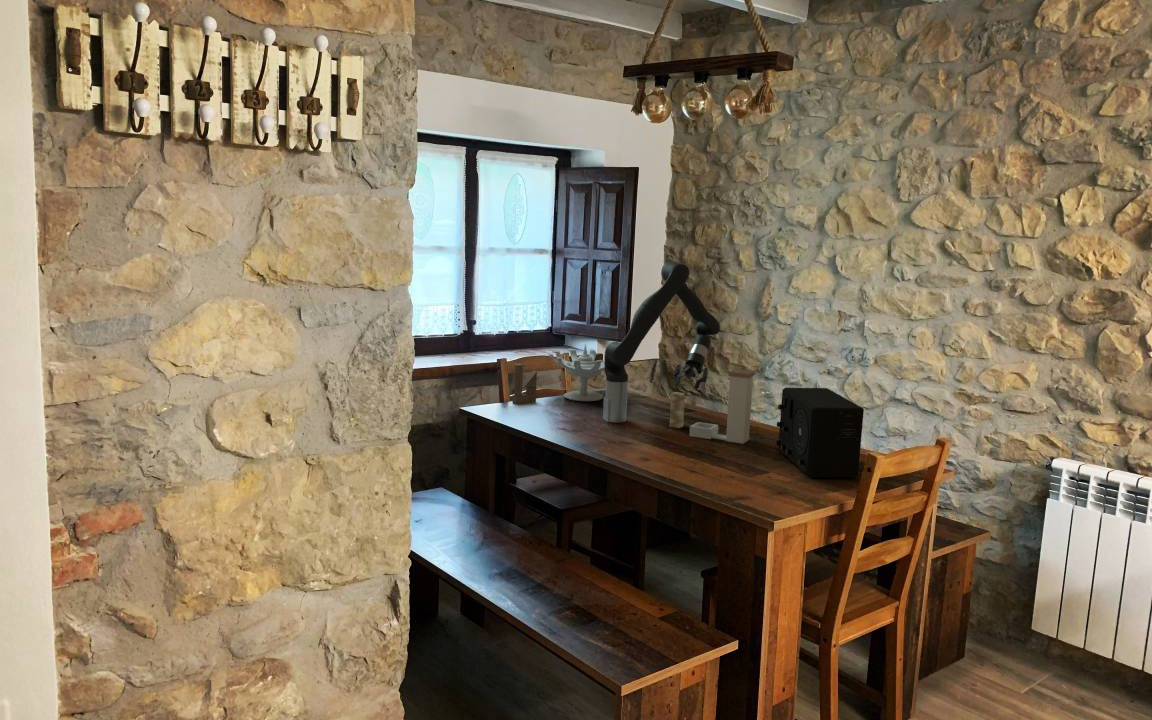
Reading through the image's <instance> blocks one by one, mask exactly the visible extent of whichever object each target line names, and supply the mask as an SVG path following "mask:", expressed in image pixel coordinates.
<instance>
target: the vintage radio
mask: <svg viewBox="0 0 1152 720" xmlns="http://www.w3.org/2000/svg"><path fill="white" fill-rule="evenodd" d="M777 409H778V410H780V417H779V418H780V419H779V421H776V427H777V428H779V433H778V439H775V446H777V447H778V448H777V450H779V451H780V452H781V453H782V455H784V456H786V457H787V459H789V460H790V461H792V463H794V465H796V466H797V467H798V468H799V469H800V470H802V471H803V472H804V473H805V474H806V475H808V477H809V478H810V477H812V478H811V479H816V478H843V479H851V478H858V477H859V468H860V457H861V456H860V455H861V447H862V434H863V423H864V413H865V409H864V407H862V406H860V405H858V404H856V403H854V402H853V401H852V400H849V399H848V398H845V397H844V396H842V395H840V394H838V393H837V392H835V391H833V390H832V389H830V388H827V387H784V388H783V389H782V391H781V403H780V404H778V405H777Z"/></svg>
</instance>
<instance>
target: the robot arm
mask: <svg viewBox="0 0 1152 720" xmlns="http://www.w3.org/2000/svg"><path fill="white" fill-rule="evenodd" d="M660 272H661V273H660V274H661V277H662V279H663V280H664V282H663V285H661V287H660V288H659V289H658V290H656V291H655V292H654V293H653V292H652V294H651V295H649V296H648V297H647V298H645V300H643V301H642V303H641V304H640V305H639V306H638V308H637V309H636V311H635V312H634V315H633V318H632V320H631V324H630V327H629V330H628V332H627V334H626V335H625V337H624V338H623V339H622V341H620V342H619V341H612V342H610V343H608V344H607V346H606V348H605V349H604V350H605V351H604V359H605V370H604V374H605V396H603V406H602V407H603V409H602V420H604V421H605V422H606V423H614V424H615V423H619V424H620V423H625V422H627V413H628V412H627V407H628V391H629V389H628V388H629V387H628V385H629V374H628V373H627V371H626V369H625V366H626V365H628V364H629V363H630V362H631V360H632V359H633V357H634V355H635V354H636V351H637V350H638V348H639V347H640V344H641V343H642V341H643V340H644V339H645V337H646V336H647V334H648V333H649V331H650V330H651V329H652V327H653V325H655V324H656V322H657V320H658V319H659V317H660V316H661V314H662V313H663V311H664V310H665V309H666V307H667V306H668V304H670V302H671V301H672V300H673V298H674V297H675V295H676V296H677V297H678V299H679V300H680V301H681V302H682V303H683V305H684V307H685V308H686V310H687V312H688V313H689V315H690V316H691V318H692V319H693V321H694V322H697V323H696V325H695V334H694V336H695V337H694V341H693V344H692V346H691V348H690V350H689V352H688V355H687V358H686V361H685V363H684V365H682V366H681V365H680V364H677V365H676V368H675V369H674V372H673V373H672V376H673V377H674V379H675V381H674V385H675V387H676V388H679V387H680V386H679V385H680V383H681V381H682V379H685V378H686V377H687V378H693V379H694V378H696V380H695V384H694V386H693V387H694V390H695V391H696V390H698V389H699V388H700V386H701V384H702V383H706V382H707V380H708V379H707V378H708V375H709V369H708V368H707V367H704V365H705V362H706V360H707V357H708V352H709V349H710V347H711V339H710V337H709V336H715V335H717V334H718V333H719V332H720V331H721V326H720V323H719V321H718V319H717V318H716V317H715V316H714V315H713V314H712V313H710V312H709V311H708V310H707V308H706V307H705V304H703V302H702V300H701V299H700V298H699V296H698V295H696V293H694V292H693V290H691V289H690V287H689V286H688V284H687V283H686V282H687V281H688V280H689V277H690V268H689V266H688V265H686V264H684V263H680V262H675V261H668V262H666V263H664V264H663V266H662V267H661V271H660ZM700 374H702V376H701V377H700Z"/></svg>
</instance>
